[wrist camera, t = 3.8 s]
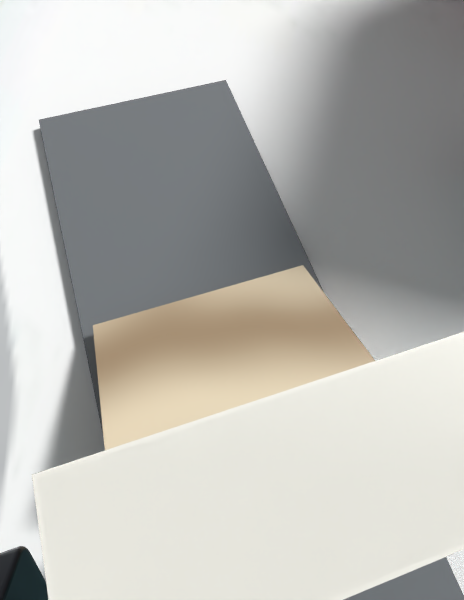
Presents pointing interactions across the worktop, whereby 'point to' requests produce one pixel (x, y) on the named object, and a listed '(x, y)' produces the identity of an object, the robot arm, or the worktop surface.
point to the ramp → (218, 353)
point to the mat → (177, 225)
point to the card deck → (271, 493)
